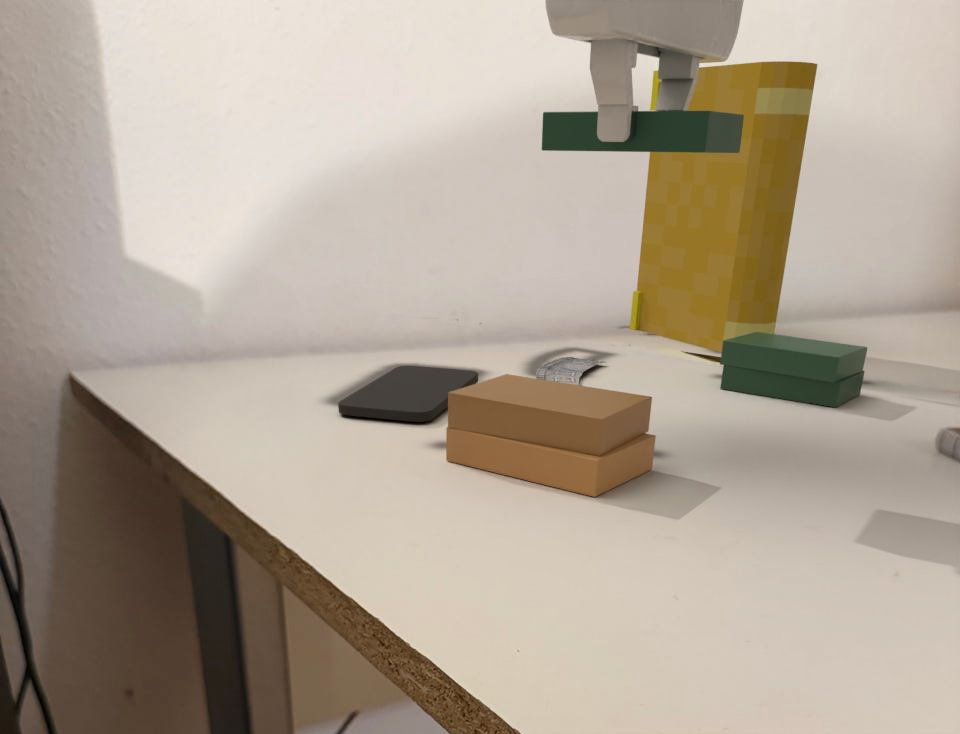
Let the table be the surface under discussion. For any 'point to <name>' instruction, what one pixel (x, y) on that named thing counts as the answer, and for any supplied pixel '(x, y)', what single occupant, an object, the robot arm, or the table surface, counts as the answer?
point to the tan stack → (551, 432)
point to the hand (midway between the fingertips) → (642, 142)
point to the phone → (407, 393)
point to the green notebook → (647, 132)
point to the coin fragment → (565, 369)
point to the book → (724, 210)
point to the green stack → (793, 368)
